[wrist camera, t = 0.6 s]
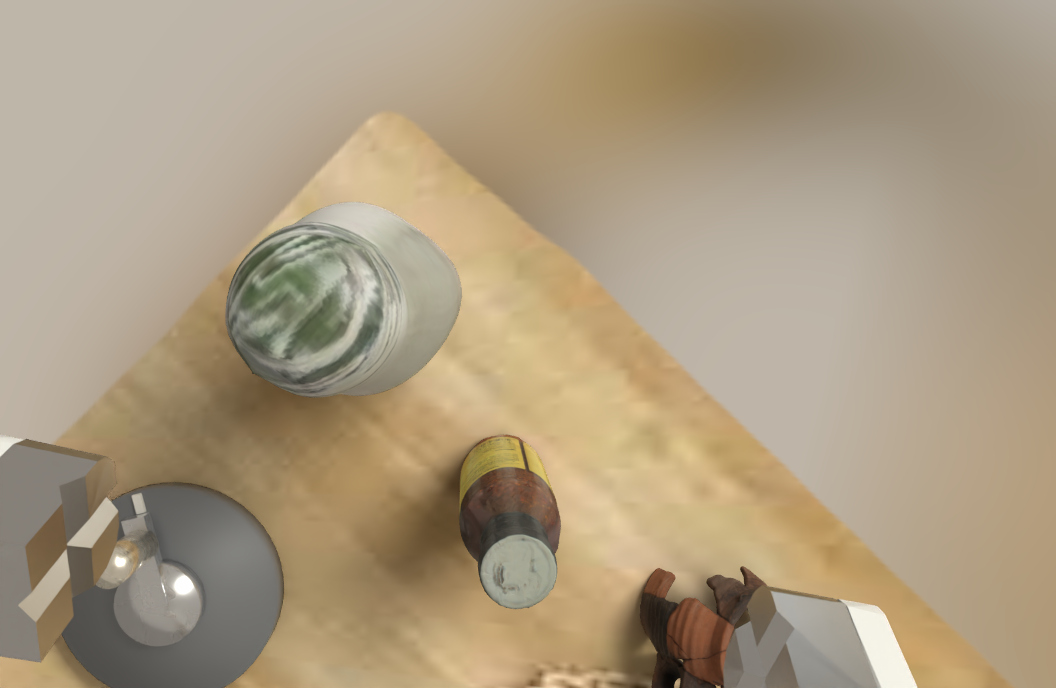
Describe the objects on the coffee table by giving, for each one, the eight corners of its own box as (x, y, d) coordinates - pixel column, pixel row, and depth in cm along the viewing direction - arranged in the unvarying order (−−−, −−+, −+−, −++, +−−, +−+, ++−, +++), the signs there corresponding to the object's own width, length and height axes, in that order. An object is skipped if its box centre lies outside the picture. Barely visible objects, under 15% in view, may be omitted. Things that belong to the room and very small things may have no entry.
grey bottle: (375, 196, 58) (262, 126, 30) (490, 278, 59) (483, 283, 31) (298, 307, 58) (118, 339, 31) (413, 386, 59) (340, 487, 31)
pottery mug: (663, 527, 62) (745, 562, 55) (733, 569, 67) (816, 605, 60) (594, 674, 59) (671, 730, 52) (672, 707, 64) (752, 761, 57)
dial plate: (306, 661, 61) (298, 677, 59) (100, 708, 61) (84, 726, 58) (254, 461, 59) (245, 469, 57) (43, 508, 59) (24, 518, 57)
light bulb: (214, 628, 58) (182, 669, 52) (133, 646, 58) (92, 689, 52) (181, 504, 57) (144, 531, 51) (99, 522, 57) (52, 551, 51)
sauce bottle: (447, 491, 60) (423, 597, 40) (483, 417, 60) (477, 489, 40) (525, 527, 61) (539, 650, 41) (561, 454, 60) (593, 543, 40)
